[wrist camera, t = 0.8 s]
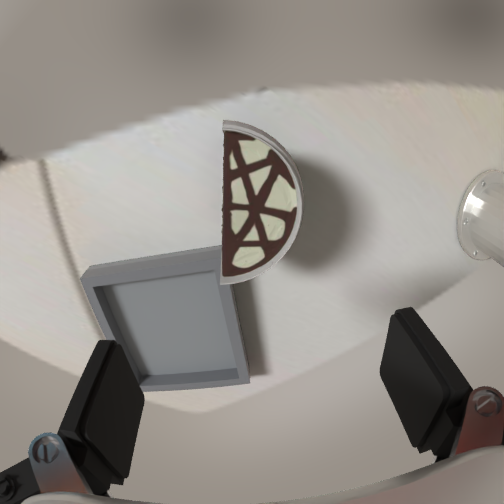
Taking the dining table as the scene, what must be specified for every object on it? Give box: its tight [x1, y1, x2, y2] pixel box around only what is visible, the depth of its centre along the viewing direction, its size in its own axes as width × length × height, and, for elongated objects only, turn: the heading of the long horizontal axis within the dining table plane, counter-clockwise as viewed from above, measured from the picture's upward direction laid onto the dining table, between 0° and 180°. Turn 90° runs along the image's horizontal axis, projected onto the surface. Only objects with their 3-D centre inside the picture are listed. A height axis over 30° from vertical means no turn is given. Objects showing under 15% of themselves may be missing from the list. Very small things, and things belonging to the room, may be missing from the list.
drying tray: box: [80, 245, 250, 392], centre depth 35 cm, size 16×18×3 cm
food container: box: [220, 120, 304, 285], centre depth 26 cm, size 12×6×10 cm, turn 177°
